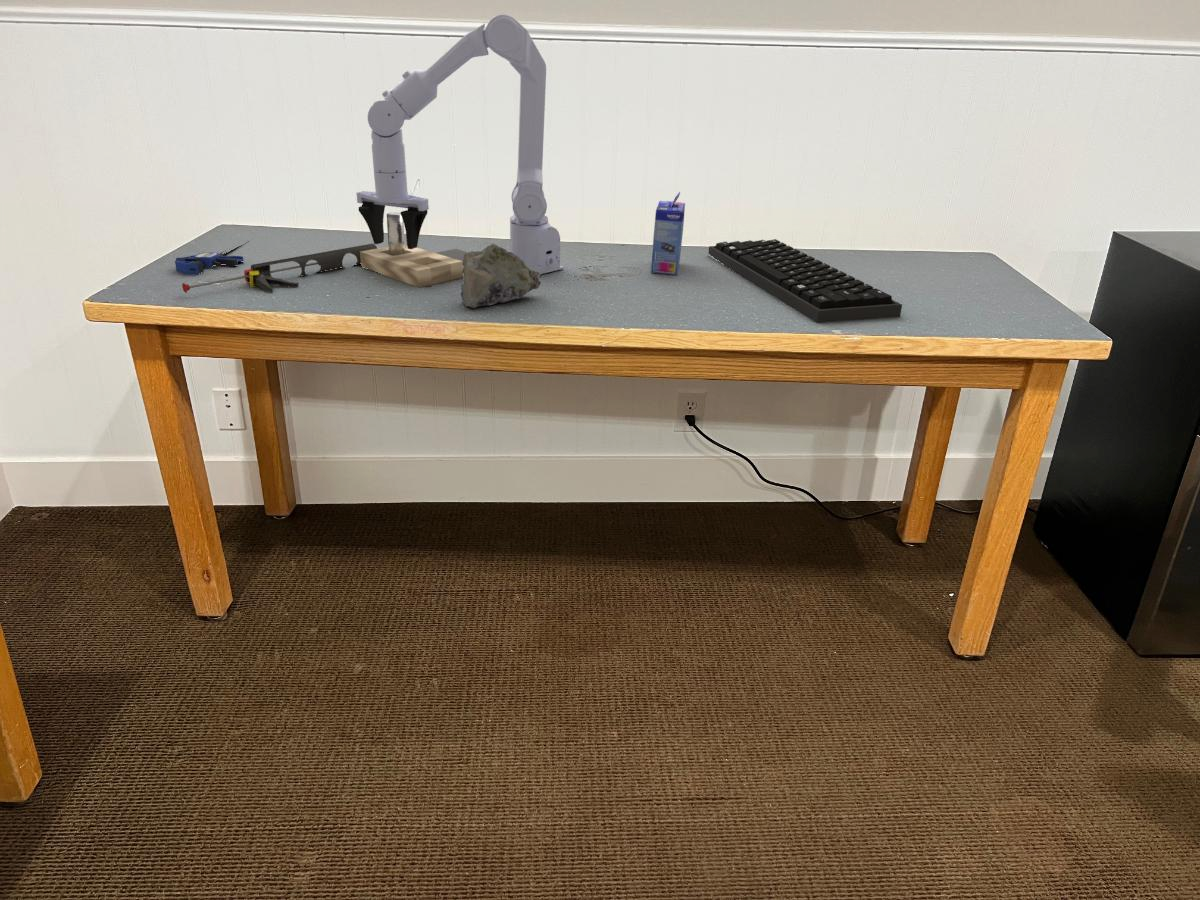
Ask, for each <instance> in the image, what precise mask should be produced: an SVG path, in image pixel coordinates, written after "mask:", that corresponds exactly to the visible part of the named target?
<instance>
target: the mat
mask: <svg viewBox="0 0 1200 900" xmlns="http://www.w3.org/2000/svg"><path fill="white" fill-rule="evenodd" d="M466 252H467V251H465V250H462V249H458V248H453V249H448V250H443V251H438V252H436V253H437V254H440V255H443V256H447V257H450V258H453V259H457V260H460V261H462V262H463V257H464V254H465V253H466ZM463 266H464V264H463Z"/></svg>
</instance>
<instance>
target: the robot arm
mask: <svg viewBox="0 0 1200 900" xmlns="http://www.w3.org/2000/svg"><path fill="white" fill-rule="evenodd" d="M485 25H486V27H485ZM484 28H485V29H484ZM488 48H489V49H490V50H491V51H492V52H493V53H495V54H496V55H498V56H499V57H500V58H503V59H505V60H506V61H508V62H509V64H510V65H511V66H512V67H513V69H515V71H517V73H518V74H519V76H520V83H519V86H520V87H519V116H518V151H517V157H518V158H517V175H516V184H515V185H514V188H513V189H512V193H511V202H512V211H513V212H512V213H513V215H511V216H510V218H509V228H510V229H509V238H510V240H509V241H510V242H509V243H510V244H509V245H510V252H511V253H513V254H515V255H516V256H518V257H519V258H520V259H522V260H523V261H524V264H525V265H526V266H527V267H528V268H529V269H530V270H535V271H537V272H539V273H540V274H541V275H543V274H547V273H551V272H555V271H559V270H563V268H564V266H563V265H561V235H560V233H559V231H558V229H557V228H555V227H554V226H551V224H550V223H549V217H548V216H547V215H546V213H547V208H548V204H547V200H546V198H545V193H544V190H543V157H544V136H545V135H544V134H545V111H546V107H545V106H546V88H547V87H546V85H547V65H546V62H545V60H544V58H543V56H542V55H541V53H540V50H539V49H538V47H537V45H536V43H535V42H534V40H533V38H532V36H531V35H530V33H529V31H528V30H527V28H526V27H524V25H522V24H521V23H520V22H519V21H518V20H517V19H516V18H515V17H513V16H511V15H509V14H502V13H501V14H498V15H495V16H493V17H492V18H491V19H489V21H488V22H487V24H486V23H483V24H481V25H479V26H478V27H476V28H474V29H472V30H471V31H469V32H467V33H466V34H465V35H464V36H462V37H461V38H460V39H459V40H458V41H457V42H456V43H455V44H453V46H452V47H449V49H448V50H447V51H446V52H445V53H443V55H442V56H441V57H439V58H438V59H437V60H436V61H435V62H434V63H433V64H432V65H430V66H429V67H428V68H427V69H424V70H423V69H419V68H418V69H417V68H413V70H412V71H411V72H410V71H409V70H406V71H405V72H404V73H403V74H402V75H401V76H402V78H403V79H401V81H398V83H397V84H396V85H394V86H393V87H392V88H391V89H390V90H389V91H388V90H385V91H383V92H382V93H381V95H382V97H383V99H379V100H377V101H375V102H373V104H372V105H371V107H369V110H368V112H367V123H368V125H369V127H370V128H371V135H370V136H371V140H372V143H371V153H372V164H373V165H372V166H373V177H374V190H375V191H368V190H367V191H366V190H361V191H357V192H356V201H357V204H361V206H359V207H357V208H358V212H359V213H360V215H361V216H362V217H363V219H364V221H365V223H366V225H367V227H368V230H369V231H370V235H371V237H372V241H373V244H375V245H380V244H382V243H384V241H385V234H384V233H385V232H384V217H385V208H386V206H387V207H395V208H400V209H401V208H402V209H405V210H402V211H400V213H401V216H402V219H403V222H404V231H405V237H406V244H407V246H408V249H414V248H416V247H417V248H418V245H419V244H418V242H419V239H420V234H421V233H420V232H421V228H422V226H423V224H424V221H425V219H426V217H427V215H428V210H429V209H430V208H429V207H430V205H429V199H428V198H425V197H419V196H416V195H413V194H412V195H411V194H409V192H408V182H407V168H406V167H407V165H406V153H405V152H406V150H405V144H404V141H403V139H404V138H403V130H402V127H403V126H404V124H405V123H404V122H405V121H406V120H407V121H408V120H409V121H410V120H412V118H414V117H415V116H417V115H418V114H419V113H420V112H421V111H423V109H425V108H426V107H427V106H428V105H430V104H431V103H432V102H433V101H434V100H435V99H436V98H437V96H438V87H439V85H440V84H441V83H442V82H444V81H445V80H446V79H448V78H449V77H450V76H451V75H453V73H455V72H456V71H457V70H459V69H460V68H461V67H462V66H464V65H465V64H466V63H467V62H469V61H470V60H471V59H472V58H473V59H474V58H478V57H484V56H489V50H488Z"/></svg>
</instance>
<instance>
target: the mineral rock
mask: <svg viewBox="0 0 1200 900" xmlns="http://www.w3.org/2000/svg"><path fill="white" fill-rule="evenodd" d="M465 252H466V253H465V254H464V257H463V264H464V265H463V284H462V285H461V293H460V296H461V300H462V302H463V304H464V306H465V307H467V308H469V307H470V308H472V309H476V308H479V307H484V306H493V305H495V304H498V303H502V304H503V303H506V302H510V301H513V300H518V299H520V298H522V297H524V296H525V295H527V294H528V293H530V292H531V291H533V290H537V289H538V288H539V287H540V286H541V285H542V284H541V283H542V282H541V281H540V278H541V277H540V276H541V275H542V274H540V273H539V272H537V271H535V270H530V269H529V268H528V267H527V266H526V265H525V264H524V261H523V260H522V259H520V258H519V257H518V256H516V255H515V254H513V253H511V251H508V249H505V248H503V247H501V246H498V245H497V244H495V243H491V244H490V245H487V246H486V247H485V248H483V249H482V250H481V251H479V250H476V251H472V250H471V251H465Z"/></svg>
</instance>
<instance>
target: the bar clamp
mask: <svg viewBox="0 0 1200 900" xmlns="http://www.w3.org/2000/svg"><path fill="white" fill-rule="evenodd" d="M223 252H224V251H222V252H220V253H219V252H201V253H197V254H195V255H190V256H183V257H175V261H174V265H175V269H176V270H177V271H176V270H175V271H176V272H178V271H179V273H181V272H182V274H184V273H185V274H184V275H187V274H194V275H200V274H202V273H204V272H203V271H204V268H203V267H212V266H213V265H216V266H215V267H221V266H222V265H221V264H226V265H233V266H235V265H237V264H238V265H239V263H237V261H238V262H241V261H244V257H243V256H242V255H224V254H225V253H224V254H222V253H223ZM226 253H227V252H226ZM227 254H228V253H227ZM223 255H224V256H223ZM244 262H245V261H244ZM233 266H232V267H233ZM201 272H202V273H201ZM199 273H200V274H199Z"/></svg>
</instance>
